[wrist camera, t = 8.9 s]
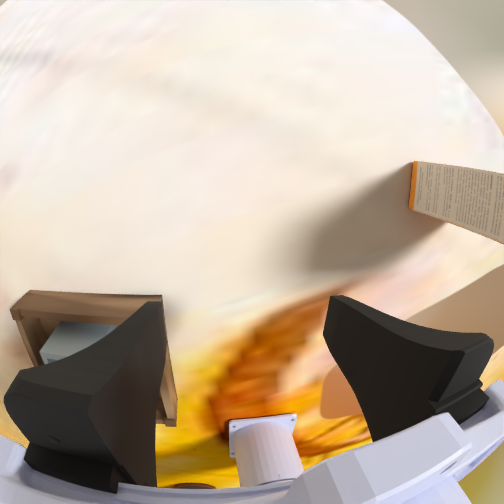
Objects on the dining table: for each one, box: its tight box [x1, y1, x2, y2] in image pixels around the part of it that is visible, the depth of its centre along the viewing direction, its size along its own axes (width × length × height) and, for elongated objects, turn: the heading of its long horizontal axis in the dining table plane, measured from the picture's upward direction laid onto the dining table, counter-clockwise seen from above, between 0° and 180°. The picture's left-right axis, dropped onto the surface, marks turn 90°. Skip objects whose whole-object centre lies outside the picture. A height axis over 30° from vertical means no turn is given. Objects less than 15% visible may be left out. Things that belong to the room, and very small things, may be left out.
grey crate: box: [40, 321, 117, 364], centre depth 18 cm, size 8×5×6 cm, turn 178°
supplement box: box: [409, 161, 504, 244], centre depth 16 cm, size 8×5×13 cm, turn 87°
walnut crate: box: [10, 290, 177, 427], centre depth 20 cm, size 12×13×4 cm
